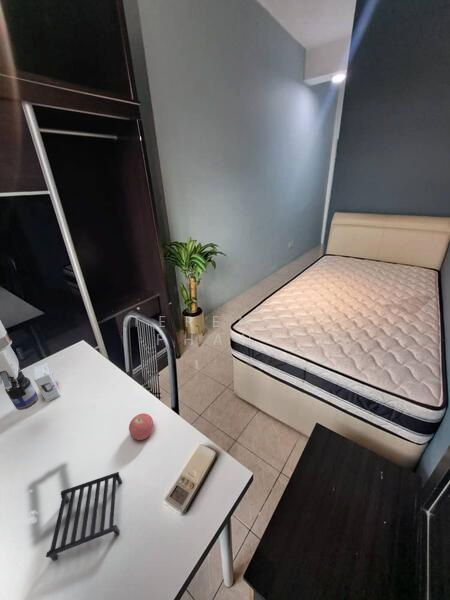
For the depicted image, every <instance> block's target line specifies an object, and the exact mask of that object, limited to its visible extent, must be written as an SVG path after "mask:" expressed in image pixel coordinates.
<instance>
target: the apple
mask: <svg viewBox="0 0 450 600" xmlns="http://www.w3.org/2000/svg"><path fill="white" fill-rule="evenodd" d="M153 429H154V419H153V417H152V416H151V415H150V414H148V413H139V414H136V415H135V416H134V417H133V418H132V419H131V421H130V422H129V425H128V431H129V434H130V436H131V437H132V438H133V439H134V440H138V441H143V440H145V439H148V437H150V436H151V434H152V432H153Z"/></svg>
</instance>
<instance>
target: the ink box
mask: <svg viewBox="0 0 450 600" xmlns="http://www.w3.org/2000/svg"><path fill="white" fill-rule="evenodd" d="M32 369H33V381H34V383H35V384H36V386H37V388H38V390H39V392H40V393H41V395H42V397H43V399H44V401H45V402H46V403H47V402H49V401H52V400H54V399H57V398H58V397H59V398H60V396H61V394H60V390H59V386H58V382H57V380H56V378H55V376H54V373H53V372H52V369H51V367H50V365H49V363H48V362H45V363H42V364H40V365H38V366H35V367H33V368H32Z"/></svg>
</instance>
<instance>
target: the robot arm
mask: <svg viewBox="0 0 450 600" xmlns="http://www.w3.org/2000/svg"><path fill="white" fill-rule="evenodd" d="M12 343H13V340H12V339H11V337H10V335H9V333H8V331H7V330H6V328H5V326H4V324H3V323H2V320H1V319H0V385H3V387H4V390H5V389H7V391H8V392H9V394H10V395H11V397H12V399H17V398H19V397H22V396H24V395H26V392H25V390H24V389H23V387H22V385H21V384H20V385H19V382H18V380H17V377H18V372H22V373H23V371H22V370H21V367H20V363H19V359H18V357H17V355H16V353H15V352H14V350H13V348H12V346H11V345H12ZM9 377H13V378H10V379H9ZM24 377H26V376H25V375H24ZM12 380H14V382H15V383H13V384H12V383H11V382H10V381H12Z"/></svg>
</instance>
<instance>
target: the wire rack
mask: <svg viewBox="0 0 450 600" xmlns="http://www.w3.org/2000/svg"><path fill="white" fill-rule="evenodd" d="M111 479H112V484H111V485H112V486H111V498H110V510H109V525H108V527H107V528H105V526H106V525H105V524H106V513H107V501H108V490H109V481H110V480H111ZM103 482H104V485H103V495H102V505H101V515H100V525H99V531H98V532H96V524H97V518H98V517H97V516H98V507H99V501H100V491H101V483H103ZM117 483H118V485H122V484H123V479H122V477H121V475H120V472H119V471H117V472H116V471H115V472H113V473H111V474H109V475H108V474H107V475H105V476H102V477H98V478H96V479H92V480H91V481H86V482H84V483H82V484H78V485H75V486H72V487H70V488H66V489H64V490H61V491H60V499H61V501H60V506H59V510H58V515H57V520H56V523H55V528H54V532H53V536H52V541H51V545H50V549H49V550H48V551H46V553H45V554H46V555H45V557H46V558H49V559H51V560H52V561H53V562H54V561H56V560H58V558H59V557H58V556H59V554H60V553H63V552H65V551H67V550H71V549H72V548H75V547H78V546H80V545H83V544H85V543H89V542H91V541H93V540H96V539H98V538H101V537H103V536H105V535H108V534H110V533H114V535H115V536H120V532H121V530H120V529H119V527H118V525H117V524H114V521H115V506H116V493H117ZM93 485H96V487H95V494H94V502H93V510H92V515H91V516H92V518H91V525H90V531H89V535H87V536H86V534H87V533H86V532H87V527H88V526H87V525H88V519H89V512H90V506H91V498H92V491H93ZM85 488H87V493H86V500H85V506H84V513H83V520H82V526H81V531H80V538H79V539H77V533H78V528H79V521H80V515H81V509H82V503H83V497H84V490H85ZM77 491H79V493H78V498H77V502H76V503H77V504H76V509H75V515H74V520H73V527H72V532H71V537H70V542H69V543H67V539H68V533H69V529H70V523H71V518H72V512H73V508H74V502H75V496H76V492H77ZM68 494H70V497H69V495H68ZM66 504H68V507H67V513H66V518H65V522H64V527H63V531H62V537H61V541H60V546H59V547H57V543H58V538H59V534H60V529H61V525H62V520H63V514H64V511H65V507H66Z"/></svg>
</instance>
